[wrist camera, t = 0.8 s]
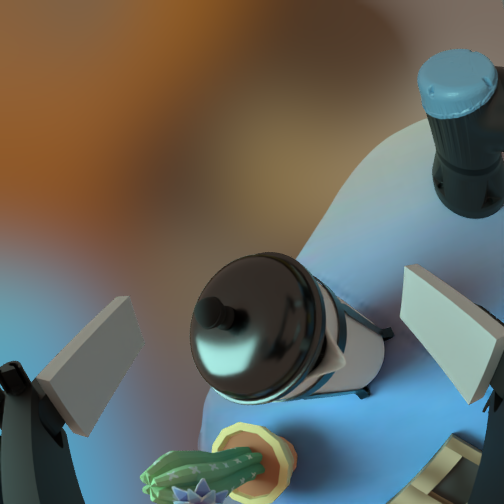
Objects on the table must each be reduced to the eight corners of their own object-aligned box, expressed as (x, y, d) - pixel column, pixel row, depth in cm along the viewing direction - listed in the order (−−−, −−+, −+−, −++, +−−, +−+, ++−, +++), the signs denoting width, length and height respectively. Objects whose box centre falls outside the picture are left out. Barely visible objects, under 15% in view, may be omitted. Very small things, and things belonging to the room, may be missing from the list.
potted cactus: (269, 505, 31) (148, 541, 15) (229, 446, 43) (109, 449, 26) (333, 466, 30) (213, 522, 13) (280, 401, 41) (151, 397, 25)
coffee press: (376, 287, 40) (262, 165, 20) (409, 380, 30) (329, 393, 10) (288, 330, 47) (135, 270, 27) (306, 415, 37) (131, 424, 17)
